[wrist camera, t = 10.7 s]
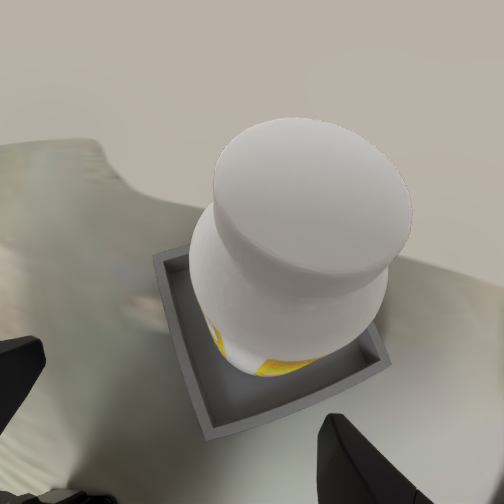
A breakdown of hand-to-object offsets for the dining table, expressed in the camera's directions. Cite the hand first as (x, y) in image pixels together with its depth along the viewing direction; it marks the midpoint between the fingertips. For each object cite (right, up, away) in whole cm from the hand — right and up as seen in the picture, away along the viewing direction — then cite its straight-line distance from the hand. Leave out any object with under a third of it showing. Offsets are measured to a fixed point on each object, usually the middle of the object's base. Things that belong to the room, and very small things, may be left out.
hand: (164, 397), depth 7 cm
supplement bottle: (+3, -1, +11) cm, 11 cm away
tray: (+3, -1, +11) cm, 12 cm away
